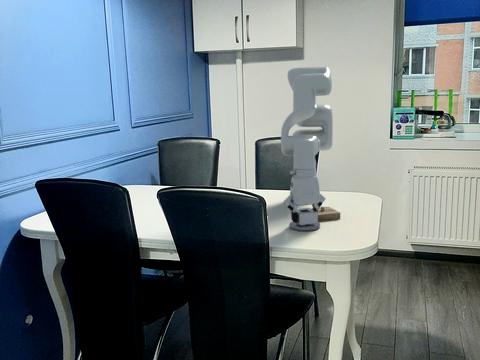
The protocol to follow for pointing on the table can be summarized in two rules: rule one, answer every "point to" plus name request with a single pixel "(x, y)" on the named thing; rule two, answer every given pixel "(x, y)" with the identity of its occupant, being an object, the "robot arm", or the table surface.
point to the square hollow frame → (306, 216)
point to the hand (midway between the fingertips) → (304, 220)
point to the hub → (304, 227)
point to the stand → (327, 214)
